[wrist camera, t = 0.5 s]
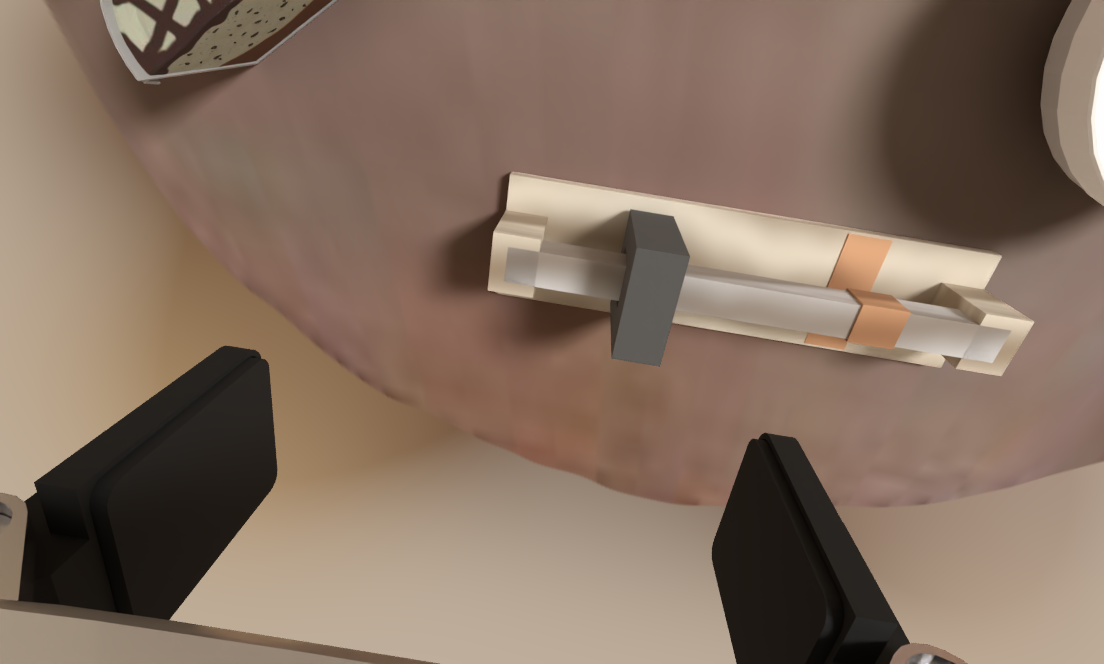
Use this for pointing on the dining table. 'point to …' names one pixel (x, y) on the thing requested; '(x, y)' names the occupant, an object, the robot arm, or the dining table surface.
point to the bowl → (1077, 96)
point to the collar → (648, 287)
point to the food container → (202, 33)
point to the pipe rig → (763, 275)
